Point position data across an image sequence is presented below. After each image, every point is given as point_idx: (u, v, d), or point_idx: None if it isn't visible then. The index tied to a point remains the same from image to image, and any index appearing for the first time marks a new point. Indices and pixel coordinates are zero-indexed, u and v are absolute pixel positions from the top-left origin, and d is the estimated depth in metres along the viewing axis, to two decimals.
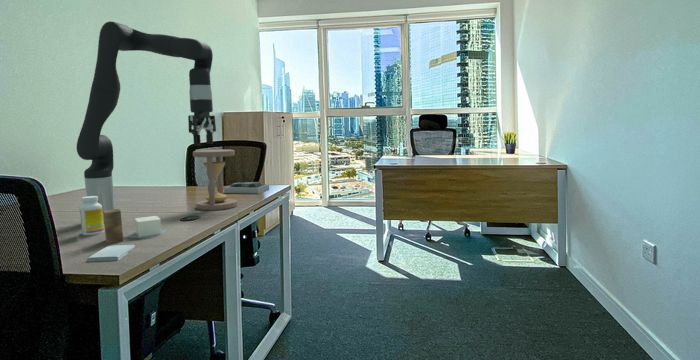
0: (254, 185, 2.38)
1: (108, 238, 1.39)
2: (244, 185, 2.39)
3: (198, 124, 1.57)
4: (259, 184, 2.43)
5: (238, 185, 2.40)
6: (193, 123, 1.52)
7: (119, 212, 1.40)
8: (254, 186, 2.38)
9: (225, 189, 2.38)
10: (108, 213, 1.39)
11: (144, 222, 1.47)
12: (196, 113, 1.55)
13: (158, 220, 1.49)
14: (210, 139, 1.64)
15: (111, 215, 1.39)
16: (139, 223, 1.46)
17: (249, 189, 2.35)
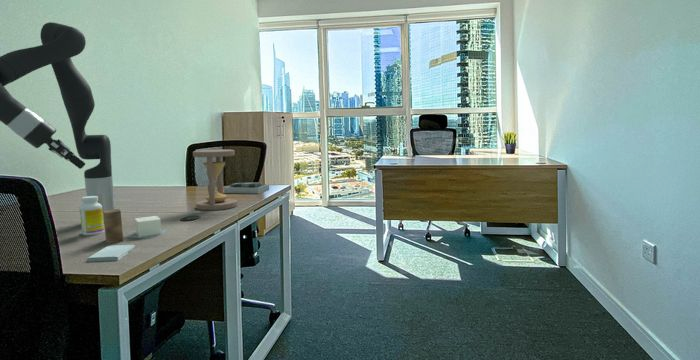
0: (254, 185, 2.37)
1: (108, 238, 1.39)
2: (244, 185, 2.38)
3: None
4: (259, 184, 2.42)
5: (238, 185, 2.39)
6: None
7: (119, 212, 1.40)
8: (254, 186, 2.37)
9: (225, 189, 2.38)
10: (108, 213, 1.39)
11: (144, 222, 1.47)
12: None
13: (158, 220, 1.49)
14: None
15: (111, 215, 1.39)
16: (139, 223, 1.46)
17: (249, 189, 2.35)
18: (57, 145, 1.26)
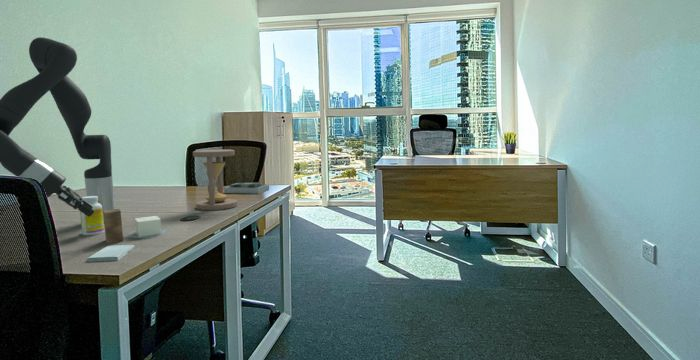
0: (254, 186, 2.36)
1: (108, 238, 1.39)
2: (243, 186, 2.37)
3: None
4: (259, 185, 2.41)
5: (237, 186, 2.38)
6: None
7: (119, 212, 1.40)
8: (254, 187, 2.36)
9: (225, 189, 2.38)
10: (108, 213, 1.39)
11: (144, 222, 1.47)
12: None
13: (158, 220, 1.49)
14: None
15: (110, 215, 1.39)
16: (139, 223, 1.46)
17: (249, 189, 2.35)
18: (66, 195, 1.28)
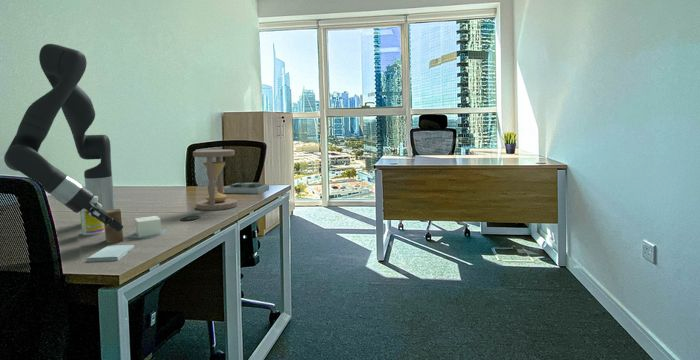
0: (254, 186, 2.36)
1: (108, 238, 1.39)
2: (244, 186, 2.37)
3: None
4: (259, 185, 2.41)
5: (238, 186, 2.37)
6: None
7: (119, 212, 1.40)
8: (254, 187, 2.36)
9: (225, 189, 2.38)
10: (108, 213, 1.39)
11: (144, 222, 1.47)
12: None
13: (158, 220, 1.49)
14: None
15: (111, 215, 1.39)
16: (139, 223, 1.46)
17: (249, 189, 2.35)
18: (99, 213, 1.34)
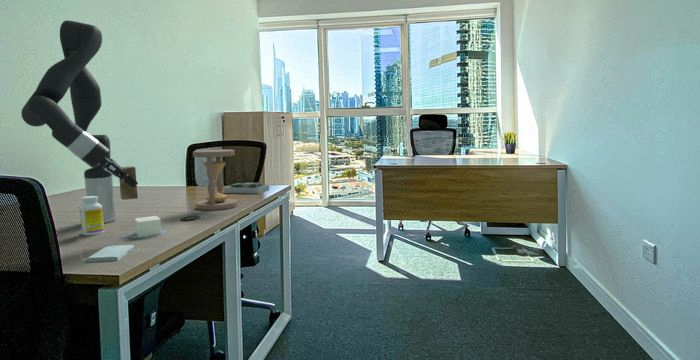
0: (255, 186, 2.36)
1: (123, 194, 1.42)
2: (244, 186, 2.37)
3: None
4: (259, 185, 2.41)
5: (238, 186, 2.37)
6: None
7: (134, 168, 1.43)
8: (255, 187, 2.36)
9: (225, 189, 2.38)
10: (123, 169, 1.42)
11: (144, 222, 1.47)
12: None
13: (158, 220, 1.49)
14: None
15: (125, 171, 1.42)
16: (139, 223, 1.46)
17: (249, 189, 2.35)
18: (115, 168, 1.37)
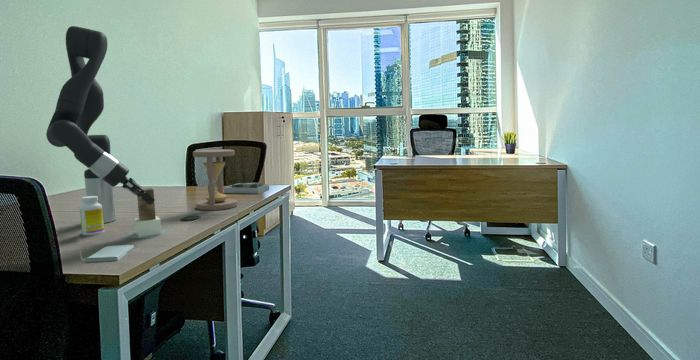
0: (255, 186, 2.35)
1: (142, 215, 1.47)
2: (245, 186, 2.37)
3: None
4: (260, 185, 2.41)
5: (239, 186, 2.37)
6: None
7: (152, 190, 1.48)
8: (255, 187, 2.35)
9: (225, 189, 2.38)
10: None
11: (144, 222, 1.47)
12: None
13: (158, 220, 1.49)
14: None
15: None
16: (139, 223, 1.46)
17: (249, 189, 2.35)
18: (132, 185, 1.41)
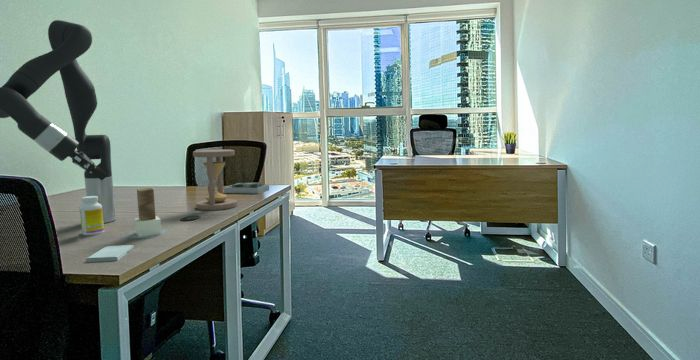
0: (256, 185, 2.35)
1: (142, 215, 1.47)
2: (246, 185, 2.37)
3: None
4: (261, 184, 2.41)
5: (239, 185, 2.37)
6: None
7: (152, 190, 1.48)
8: (256, 186, 2.35)
9: (225, 189, 2.38)
10: (142, 191, 1.47)
11: (144, 222, 1.47)
12: None
13: (158, 220, 1.49)
14: None
15: (144, 193, 1.47)
16: (139, 223, 1.46)
17: (249, 189, 2.35)
18: (80, 159, 1.33)
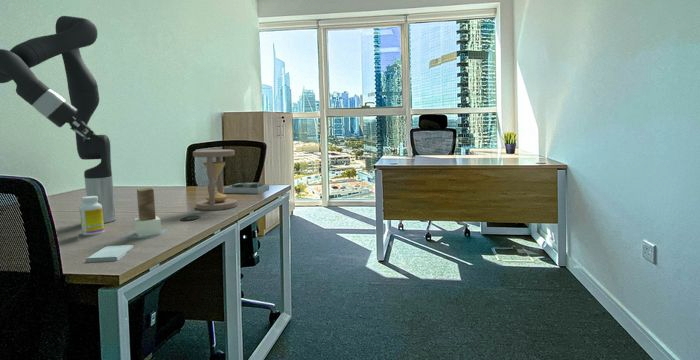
0: (256, 186, 2.35)
1: (142, 215, 1.47)
2: (246, 186, 2.37)
3: None
4: (261, 185, 2.41)
5: (239, 186, 2.37)
6: None
7: (152, 190, 1.48)
8: (256, 187, 2.35)
9: (225, 189, 2.38)
10: (142, 191, 1.47)
11: (144, 222, 1.47)
12: None
13: (158, 220, 1.49)
14: None
15: (144, 193, 1.47)
16: (139, 223, 1.46)
17: (249, 189, 2.35)
18: (78, 124, 1.32)
